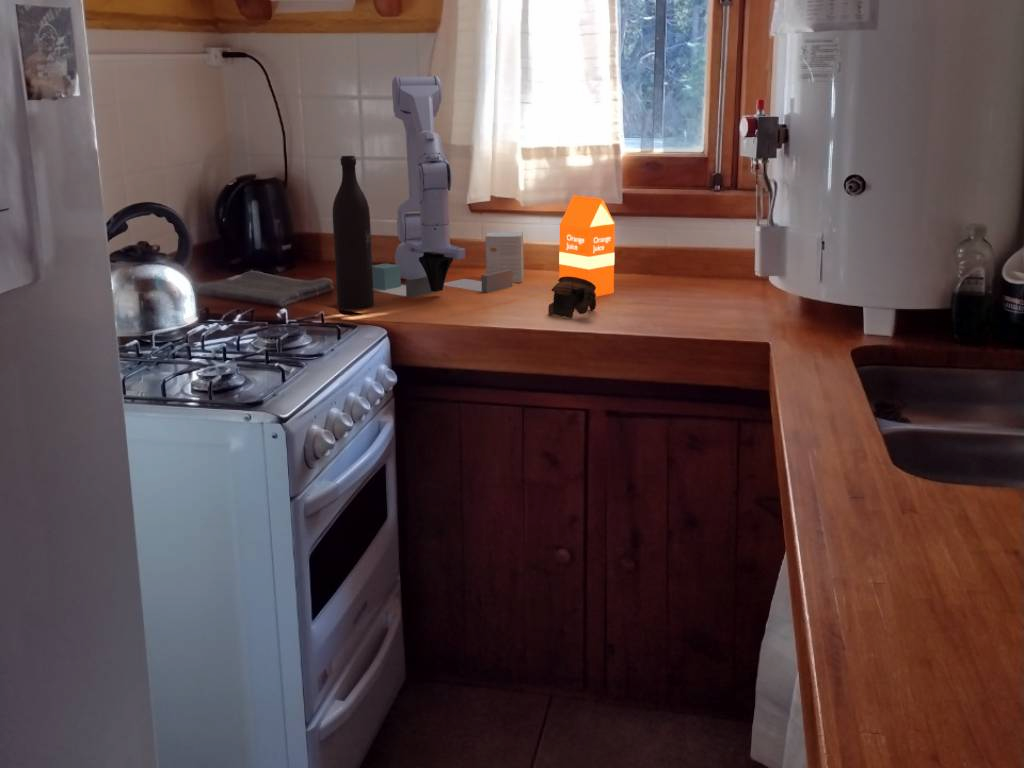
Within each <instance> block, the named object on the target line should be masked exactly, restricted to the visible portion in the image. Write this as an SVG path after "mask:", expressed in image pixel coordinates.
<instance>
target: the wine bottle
mask: <svg viewBox="0 0 1024 768" xmlns="http://www.w3.org/2000/svg"><path fill="white" fill-rule="evenodd" d="M339 160H340V165H341V172H342V173H341V174H342V175H341V183H340V185H339V188H338V190H337V193H336V194H335V197H334V200H333V205H332V228H333V230H332V231H333V245H334V263H335V264H334V265H335V280H336V297H337V298H336V299H337V310H338V313H339V314H342V315H345V316H364V313H363V312H357V311H352V310H365V309H369V308H373V307H374V306H375V299H374V298H375V297H374V292H375V291H373V272H372V266H373V255H372V253H373V252H372V234H371V214H370V207H369V203H368V200H367V197H366V196H365V193H364V192H363V190H362V189H361V186H360V185H359V183H358V180H357V173H356V165H357V158H356V156H355V155H341V158H340V159H339Z"/></svg>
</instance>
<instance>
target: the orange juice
mask: <svg viewBox="0 0 1024 768" xmlns="http://www.w3.org/2000/svg"><path fill="white" fill-rule="evenodd" d="M615 227H616V223H615V221H614V219H613V217H612V215H611V213H610V212H609V209H608V207H607V205H606V203H605V201H604V199H603V198H599V197H590V196H583V195H582V196H581V195H574V194H573V195H572V197H571V200H570V201H569V204H568V207H567V209H566V211H565V213H564V215H563V216H562V218H561V221H560V223H559V252H558V253H559V254H558V256H559V257H558V261H559V262H558V265H559V267H558V268H559V270H558V271H559V276H558V277H559V279H560V278H561V277H565V276H570V277H577V278H581V279H585V280H587V281H590V282H591V283H593V284H594V285H595V286H596V289H595V294H596V297H600V296H605V295H610V294H614V290H615V289H614V285H615V283H614V281H615V254H616V253H615V239H616V238H615V236H616V235H615V234H616V233H615V231H616V229H615ZM559 279H558V280H559Z"/></svg>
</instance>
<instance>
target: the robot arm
mask: <svg viewBox="0 0 1024 768" xmlns="http://www.w3.org/2000/svg"><path fill="white" fill-rule="evenodd" d="M391 83H392V84H391V94H392V107H393V108H392V109H393V113H394V117H395V118H397V119H399V120H401V121H402V124H403V127H404V130H405V143H406V144H405V145H406V164H407V180H408V196H409V197H408V198H407V199H406V200H404V202H402V203H401V204H400V205H399V206H398V209H397V219H396V225H397V226H396V227H397V228H396V229H397V230H396V231H397V237H398V240H399V241H400V243H399V244H398V246H397V247H396V250H395V252H394V260H395V261H394V263H395V264H394V265H399V266H400V276H401V279H404V280H406V279H410V278H415V277H420V276H425V275H427V278H428V281H429V285H430V288H431V291H434V293H438V291H439V292H442V291H443V289H444V283H445V281H446V278H447V273H448V271H449V268H450V266H451V265H452V262H453V261H454V260H463V259H466V248H463V247H459V246H456V245H452V244H451V242H450V241H451V240H450V239H451V238H450V237H451V236H450V234H451V233H450V205H449V203H450V202H449V201H450V200H449V198H450V197H449V196H450V195H449V192H450V191H451V187H452V172H451V171H452V170H451V166H450V162H449V161H448V158H447V157H445V153H444V146H443V141H442V138H441V136H440V134H438V133H437V132H435V121H434V120H435V119H434V118H435V117H437V114H438V112H439V110H440V107H441V103H442V98H443V97H442V94H443V93H442V91H443V90H442V81H441V79H440V78H439V77H438V75H433V76H394V77H393V79H392V82H391ZM447 190H448V191H447ZM408 212H416V213H408ZM418 212H419V213H418Z"/></svg>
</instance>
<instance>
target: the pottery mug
mask: <svg viewBox="0 0 1024 768" xmlns="http://www.w3.org/2000/svg"><path fill="white" fill-rule="evenodd" d="M557 280H558V281H557V282H558V283H556V284H555V285H554V286H553V287H552V288H551V291H552V292H553V293H554V294H553V301H552V303H549V304H548V306H547V307H548V316H554V315H556V316H558V317H564V318H569V319H573V316H574V313H575V311H576V312H577V313H578V314H579V315H584V314H587V312H588V311H589V310H590V311H594V310H595V309H596V306H597V304H596V303H597V301H596V300H597V299H596V297H597V296H596V294H595V289H596V286H595V285H594V284H593V283H591V282H590V281H587V280H585V279H581V278H577V277H570V276H565V277H561V278H560V279H557ZM588 309H589V310H588Z"/></svg>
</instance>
